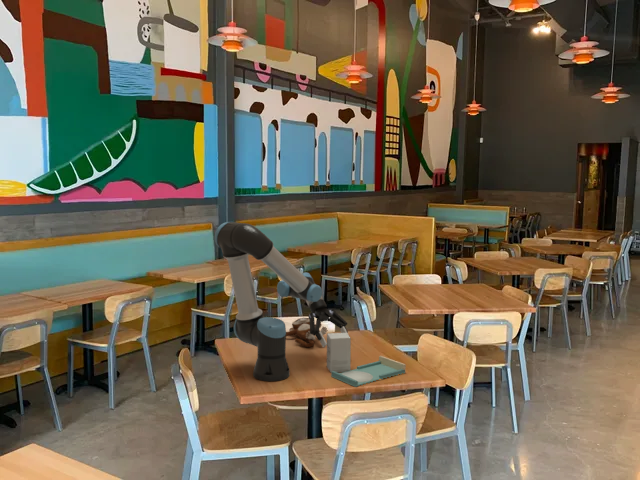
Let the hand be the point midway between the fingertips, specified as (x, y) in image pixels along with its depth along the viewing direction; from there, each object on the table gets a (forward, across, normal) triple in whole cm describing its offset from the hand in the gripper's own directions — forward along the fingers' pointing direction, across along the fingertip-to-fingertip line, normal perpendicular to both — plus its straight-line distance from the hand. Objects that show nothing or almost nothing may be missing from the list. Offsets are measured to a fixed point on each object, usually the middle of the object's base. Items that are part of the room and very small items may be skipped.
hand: (337, 343), depth 251 cm
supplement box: (+10, +3, -4) cm, 11 cm away
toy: (-20, -12, -36) cm, 43 cm away
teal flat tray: (+19, -3, +6) cm, 20 cm away
